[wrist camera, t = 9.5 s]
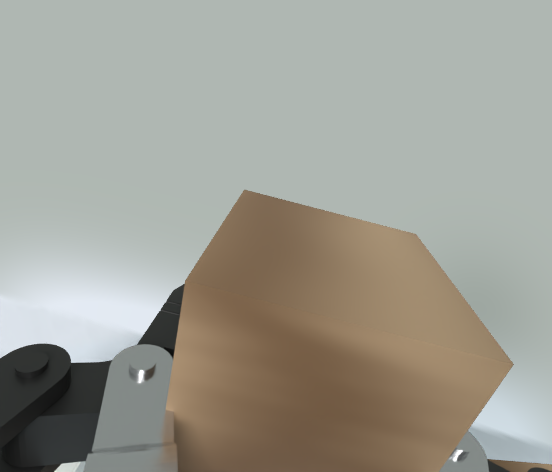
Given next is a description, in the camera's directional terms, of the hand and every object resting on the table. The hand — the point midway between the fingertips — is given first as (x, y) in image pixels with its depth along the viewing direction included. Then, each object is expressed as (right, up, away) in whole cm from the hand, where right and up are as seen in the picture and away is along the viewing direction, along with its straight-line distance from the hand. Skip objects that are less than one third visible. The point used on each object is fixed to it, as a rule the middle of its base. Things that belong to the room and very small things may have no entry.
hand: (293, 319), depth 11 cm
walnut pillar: (-2, -6, 0) cm, 7 cm away
